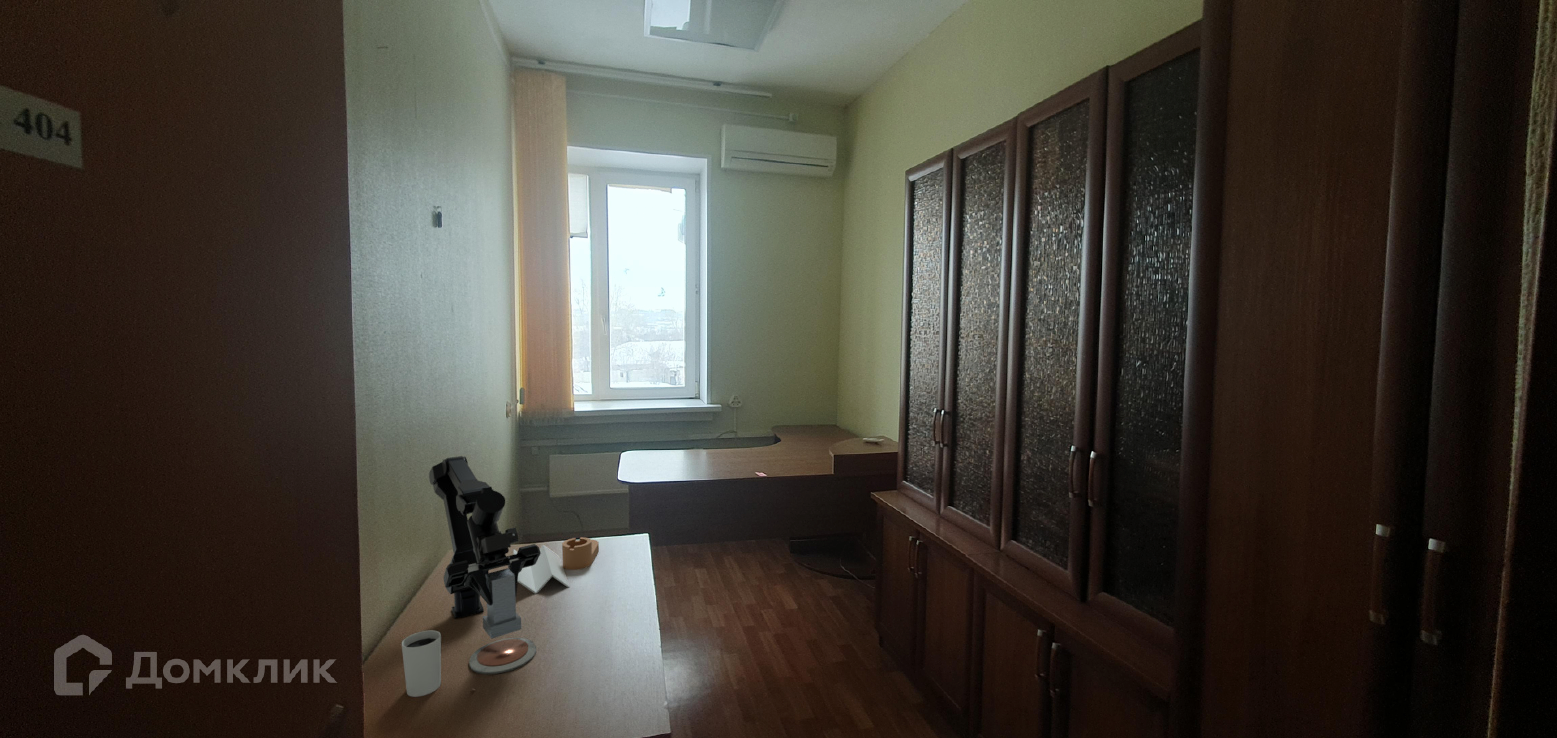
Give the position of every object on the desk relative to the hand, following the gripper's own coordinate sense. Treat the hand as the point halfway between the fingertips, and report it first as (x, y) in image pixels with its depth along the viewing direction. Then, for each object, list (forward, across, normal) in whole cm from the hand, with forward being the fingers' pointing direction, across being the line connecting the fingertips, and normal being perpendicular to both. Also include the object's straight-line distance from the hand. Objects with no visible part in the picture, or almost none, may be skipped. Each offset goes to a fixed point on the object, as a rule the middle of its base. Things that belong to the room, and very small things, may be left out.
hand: (503, 601), depth 128 cm
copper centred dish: (+8, 0, +10) cm, 13 cm away
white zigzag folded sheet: (-18, +21, +38) cm, 47 cm away
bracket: (-21, +35, +41) cm, 58 cm away
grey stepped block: (+4, 0, +6) cm, 7 cm away
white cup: (+9, -15, +9) cm, 20 cm away
